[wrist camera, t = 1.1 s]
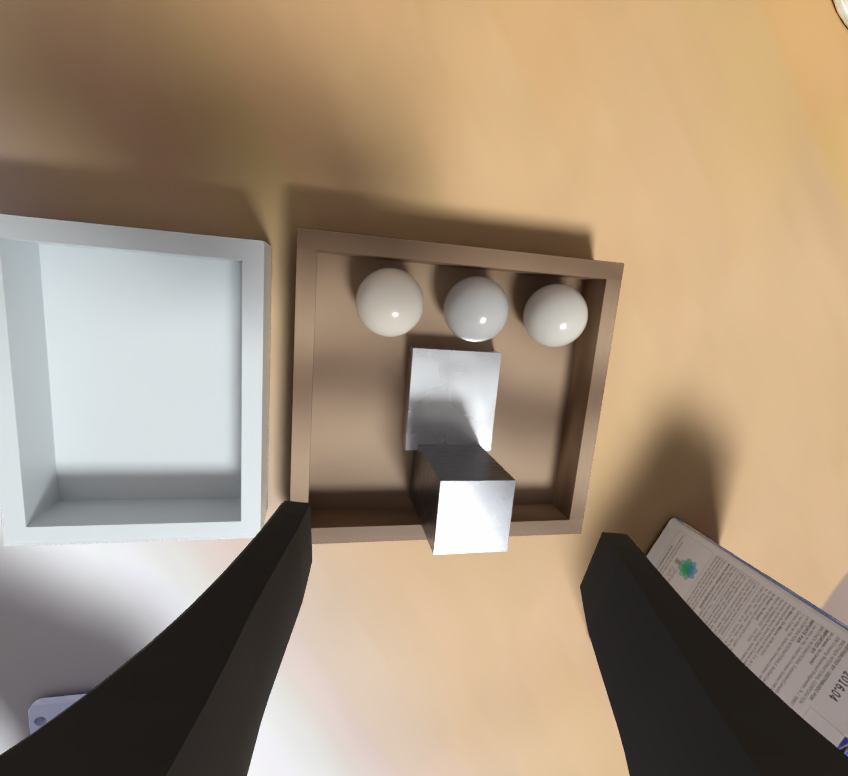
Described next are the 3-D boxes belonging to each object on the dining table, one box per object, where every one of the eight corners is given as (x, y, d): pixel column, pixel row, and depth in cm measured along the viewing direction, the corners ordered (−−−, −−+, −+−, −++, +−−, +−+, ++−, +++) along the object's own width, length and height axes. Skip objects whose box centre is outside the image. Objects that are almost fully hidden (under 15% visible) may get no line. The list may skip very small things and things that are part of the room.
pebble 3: (563, 344, 24) (595, 352, 21) (510, 341, 24) (536, 348, 21) (571, 286, 24) (605, 286, 21) (517, 281, 23) (545, 280, 20)
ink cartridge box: (644, 668, 31) (901, 970, 17) (584, 642, 30) (815, 951, 16) (726, 546, 31) (1061, 760, 17) (669, 513, 29) (989, 719, 15)
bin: (267, 506, 23) (260, 537, 20) (47, 511, 21) (3, 546, 18) (271, 247, 21) (264, 241, 18) (22, 222, 19) (-32, 210, 16)
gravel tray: (557, 511, 27) (581, 533, 25) (292, 519, 24) (288, 544, 21) (594, 265, 24) (624, 263, 22) (300, 234, 21) (297, 227, 19)
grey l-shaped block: (477, 495, 25) (519, 550, 20) (397, 496, 24) (419, 555, 19) (494, 350, 24) (544, 368, 18) (409, 345, 23) (436, 363, 17)
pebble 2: (491, 340, 23) (515, 347, 21) (433, 336, 23) (450, 343, 20) (498, 279, 23) (523, 278, 20) (439, 273, 22) (457, 272, 19)
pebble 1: (414, 335, 22) (427, 342, 20) (351, 331, 22) (356, 338, 19) (418, 272, 22) (433, 269, 19) (355, 266, 21) (360, 262, 18)
